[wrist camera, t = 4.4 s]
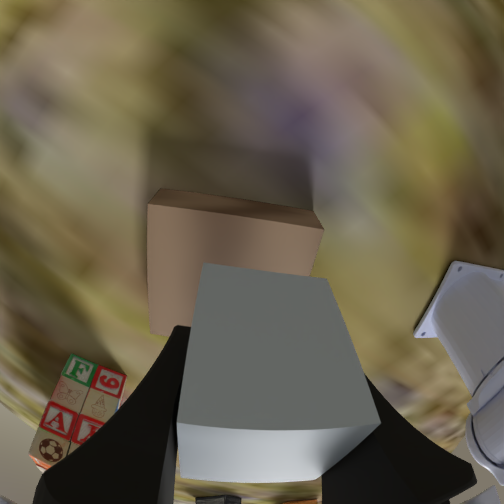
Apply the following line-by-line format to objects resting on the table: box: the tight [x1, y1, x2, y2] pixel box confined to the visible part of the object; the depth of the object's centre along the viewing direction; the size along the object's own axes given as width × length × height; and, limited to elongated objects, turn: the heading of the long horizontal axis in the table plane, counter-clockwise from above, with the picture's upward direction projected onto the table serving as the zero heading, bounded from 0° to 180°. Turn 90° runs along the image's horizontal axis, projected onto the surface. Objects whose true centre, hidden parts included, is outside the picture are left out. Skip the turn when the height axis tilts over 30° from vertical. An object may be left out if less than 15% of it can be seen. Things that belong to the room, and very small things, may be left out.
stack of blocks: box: [29, 353, 127, 472], centre depth 23 cm, size 21×6×12 cm, turn 156°
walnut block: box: [147, 189, 324, 337], centre depth 18 cm, size 9×9×3 cm
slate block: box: [177, 263, 381, 483], centre depth 9 cm, size 4×4×6 cm
